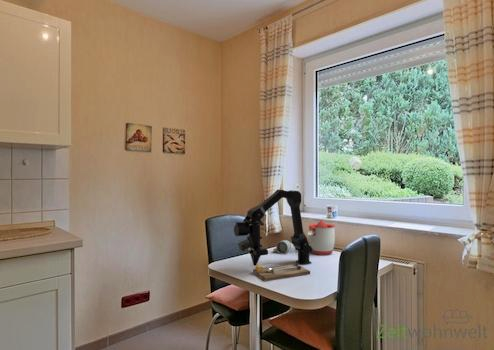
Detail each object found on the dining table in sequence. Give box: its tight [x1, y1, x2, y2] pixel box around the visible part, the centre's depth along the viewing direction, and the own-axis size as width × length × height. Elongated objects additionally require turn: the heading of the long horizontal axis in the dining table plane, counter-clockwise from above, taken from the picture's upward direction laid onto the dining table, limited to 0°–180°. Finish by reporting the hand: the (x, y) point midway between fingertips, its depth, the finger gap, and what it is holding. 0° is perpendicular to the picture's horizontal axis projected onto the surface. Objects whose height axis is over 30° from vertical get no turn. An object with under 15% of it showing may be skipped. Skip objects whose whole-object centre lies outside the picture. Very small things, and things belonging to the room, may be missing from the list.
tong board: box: [252, 262, 311, 282], centre depth 150 cm, size 14×24×3 cm, turn 113°
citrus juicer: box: [307, 220, 336, 256], centre depth 188 cm, size 16×17×20 cm
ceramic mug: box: [273, 239, 292, 255], centre depth 190 cm, size 11×8×8 cm
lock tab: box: [255, 264, 264, 271], centre depth 150 cm, size 3×2×2 cm
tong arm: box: [266, 263, 299, 273], centre depth 150 cm, size 2×17×2 cm, turn 113°
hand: (254, 265), depth 154 cm, fingers closed
